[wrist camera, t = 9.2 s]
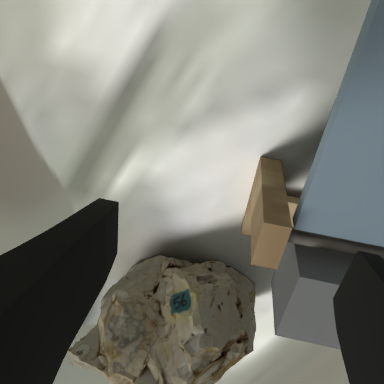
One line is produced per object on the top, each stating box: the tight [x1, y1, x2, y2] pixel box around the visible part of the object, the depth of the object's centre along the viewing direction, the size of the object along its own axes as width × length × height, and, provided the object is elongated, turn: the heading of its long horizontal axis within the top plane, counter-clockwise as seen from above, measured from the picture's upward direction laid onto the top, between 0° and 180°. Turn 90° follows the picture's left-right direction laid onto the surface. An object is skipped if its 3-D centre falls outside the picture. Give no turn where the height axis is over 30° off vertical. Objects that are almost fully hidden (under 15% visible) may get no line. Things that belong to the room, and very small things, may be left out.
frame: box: [241, 157, 384, 270], centre depth 18 cm, size 13×5×7 cm, turn 82°
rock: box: [67, 255, 256, 384], centre depth 23 cm, size 12×7×10 cm, turn 103°
